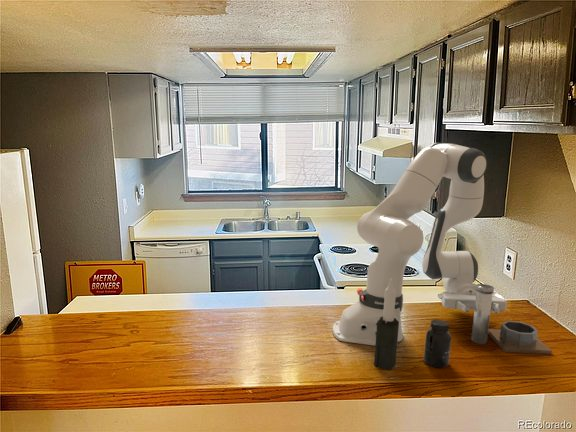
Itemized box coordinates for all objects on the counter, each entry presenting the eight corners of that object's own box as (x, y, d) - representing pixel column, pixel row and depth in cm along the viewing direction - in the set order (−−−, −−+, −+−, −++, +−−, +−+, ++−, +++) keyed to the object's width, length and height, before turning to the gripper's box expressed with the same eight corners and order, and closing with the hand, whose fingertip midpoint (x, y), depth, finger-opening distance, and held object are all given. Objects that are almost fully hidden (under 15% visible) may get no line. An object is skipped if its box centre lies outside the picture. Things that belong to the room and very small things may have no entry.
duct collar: (504, 351, 137) (506, 335, 136) (486, 332, 150) (488, 317, 150) (551, 354, 136) (554, 338, 135) (529, 334, 150) (531, 319, 149)
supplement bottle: (450, 369, 125) (454, 329, 123) (424, 366, 126) (428, 326, 124) (446, 358, 131) (450, 319, 129) (422, 355, 133) (426, 316, 130)
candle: (396, 363, 127) (403, 278, 123) (390, 371, 123) (397, 283, 118) (379, 358, 130) (385, 274, 125) (372, 365, 125) (379, 279, 121)
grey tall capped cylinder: (473, 343, 141) (480, 288, 138) (468, 336, 146) (474, 283, 143) (490, 344, 141) (496, 289, 138) (484, 337, 146) (490, 284, 143)
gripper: (437, 285, 156) (449, 299, 142) (497, 288, 155) (515, 302, 142) (435, 302, 157) (447, 318, 143) (494, 305, 156) (512, 321, 143)
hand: (481, 310), depth 142 cm, fingers open, 8 cm apart
